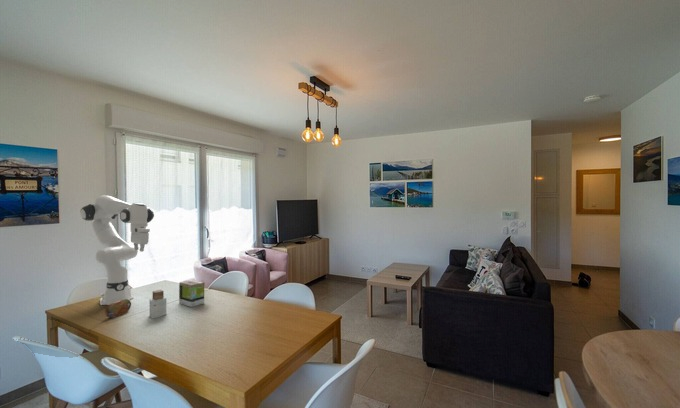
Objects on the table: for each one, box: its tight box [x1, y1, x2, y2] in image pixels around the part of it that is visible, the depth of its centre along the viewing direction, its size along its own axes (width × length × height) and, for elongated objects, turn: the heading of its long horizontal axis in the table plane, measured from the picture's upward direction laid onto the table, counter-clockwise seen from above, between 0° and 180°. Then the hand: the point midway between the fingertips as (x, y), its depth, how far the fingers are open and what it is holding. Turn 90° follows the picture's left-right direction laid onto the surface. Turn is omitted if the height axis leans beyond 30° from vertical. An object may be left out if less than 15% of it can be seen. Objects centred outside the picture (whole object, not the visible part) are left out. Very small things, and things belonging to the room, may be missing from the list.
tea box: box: [178, 279, 205, 308], centre depth 198 cm, size 15×10×15 cm
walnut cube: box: [152, 289, 165, 300], centre depth 176 cm, size 4×4×4 cm
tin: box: [104, 299, 132, 319], centre depth 177 cm, size 15×3×8 cm, turn 168°
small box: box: [149, 296, 167, 319], centre depth 176 cm, size 8×6×10 cm
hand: (139, 250), depth 180 cm, fingers open, 8 cm apart
